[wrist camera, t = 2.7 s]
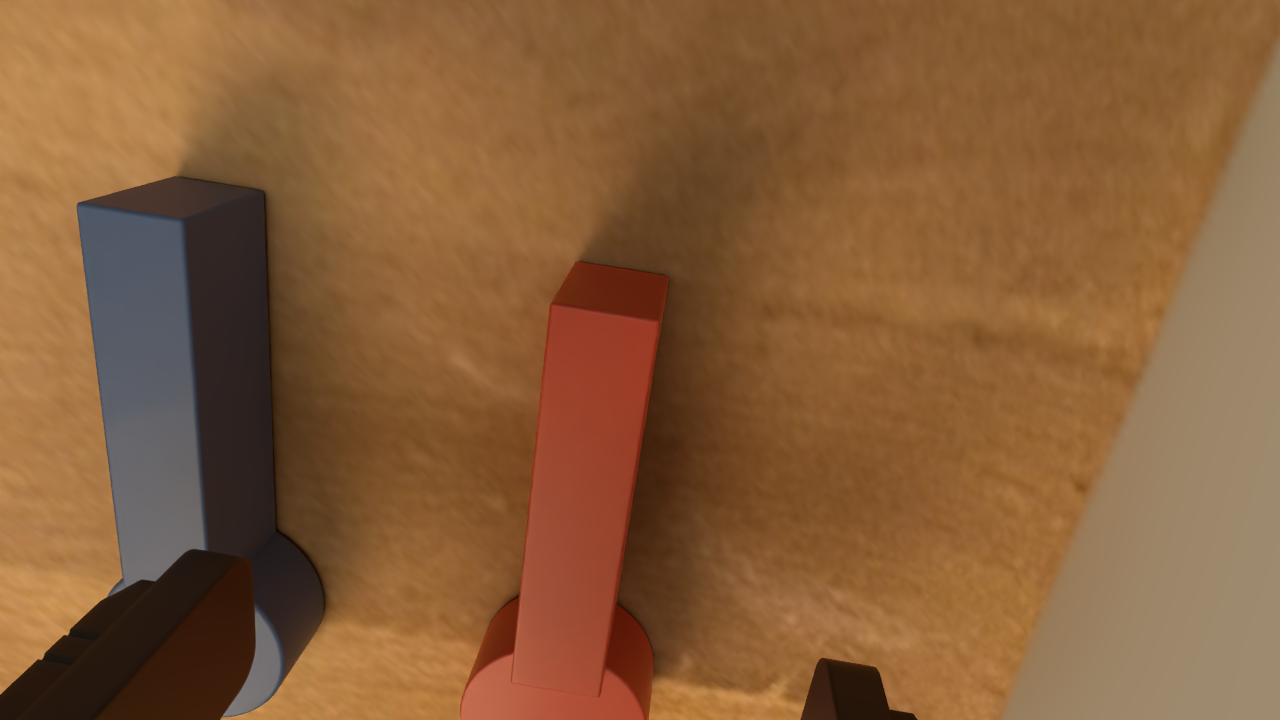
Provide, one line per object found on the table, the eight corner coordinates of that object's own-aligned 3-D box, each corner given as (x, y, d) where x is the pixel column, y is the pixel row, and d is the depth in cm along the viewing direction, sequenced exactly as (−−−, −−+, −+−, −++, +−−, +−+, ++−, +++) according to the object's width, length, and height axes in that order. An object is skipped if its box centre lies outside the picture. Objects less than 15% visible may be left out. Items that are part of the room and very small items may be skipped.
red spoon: (518, 250, 16) (482, 291, 13) (727, 284, 15) (729, 332, 13) (478, 706, 20) (446, 800, 18) (641, 736, 20) (630, 833, 17)
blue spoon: (116, 166, 16) (7, 190, 13) (321, 199, 15) (249, 230, 13) (165, 639, 20) (90, 723, 18) (325, 668, 20) (272, 755, 17)
